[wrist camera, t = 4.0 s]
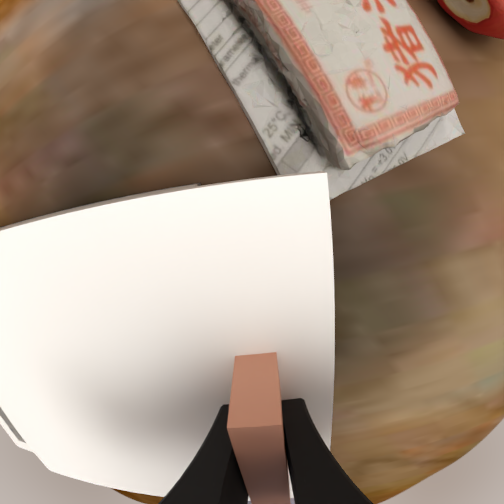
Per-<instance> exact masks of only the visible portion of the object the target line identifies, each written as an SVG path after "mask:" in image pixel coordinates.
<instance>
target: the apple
mask: <svg viewBox="0 0 504 504" xmlns="http://www.w3.org/2000/svg"><path fill="white" fill-rule="evenodd" d="M437 1H438V3H439V4H440V6H441V7H442V8H443V9H444V10H445V11H446V12H447V13H448V14H449V15H450V16H451V17H453V18H454V19H455V20H456V21H457V22H458V23H460V24H461V25H462V26H463V27H465V28H466V29H468V30H469V31H472V32H474V33H478V34H483V35H487V36H491V37H495V38H499V39H504V0H437Z"/></svg>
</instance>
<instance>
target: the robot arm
mask: <svg viewBox="0 0 504 504" xmlns="http://www.w3.org/2000/svg"><path fill="white" fill-rule="evenodd" d="M281 403H282V418H283V428H284V437H285V445H286V454H287V463H288V469H289V474H290V480H291V485H292V491H293V496H294V498H290V503H291V504H373V503H372V502H371V501H370V500H369V499H368V498H367V497H366V496H365V495H364V494H363V493H362V492H361V491H360V489H359V488H358V487H357V486H356V485H355V484H354V483H353V481H352V480H351V479H350V478H349V477H348V475H347V474H346V473H345V472H344V470H343V469H342V468H341V466H340V465H339V464H338V462H337V461H336V459H335V458H334V456H333V455H332V454H331V452H330V450H329V449H328V447H327V446H326V444H325V442H324V441H323V439H322V438H321V436H320V434H319V432H318V430H317V429H316V427H315V425H314V423H313V421H312V419H311V416H310V414H309V412H308V409H307V406H306V403H305V400H304V399H302V398H296V399H287V400H281ZM228 413H229V404H223V405H222V406H221V407H220V409H219V412H218V414H217V416H216V419H215V421H214V423H213V425H212V427H211V429H210V431H209V433H208V435H207V436H206V438H205V440H204V442H203V443H202V445H201V447H200V449H199V450H198V452H197V454H196V455H195V457H194V458H193V460H192V461H191V463H190V464H189V466H188V467H187V469H186V470H185V472H184V473H183V474H182V476H181V477H180V479H179V480H178V481H177V482H176V484H175V485H174V486H173V487H172V489H171V490H170V491H169V492H168V493H167V495H166V496H165V497H164V498H163V499H162V500H161V501H160V502H159V503H158V504H252V503H251V501H248V496H249V494H248V492H247V489H246V486H245V483H244V480H243V477H242V474H241V471H240V468H239V465H238V462H237V459H236V456H235V453H234V450H233V447H232V443H231V440H230V437H229V434H228V430H227V422H228Z"/></svg>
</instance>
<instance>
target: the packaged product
mask: <svg viewBox="0 0 504 504" xmlns="http://www.w3.org/2000/svg"><path fill="white" fill-rule="evenodd" d="M178 2H179V3H180V5H181V7H182V8H183V9H184V11H185V12H186V13H187V14H188V16H189V17H190V18H191V20H192V21H193V23H194V25H195V26H196V28H197V30H198V32H199V33H200V35H201V37H202V38H203V40H204V42H205V44H206V46H207V47H208V49H209V51H210V53H211V55H212V57H213V58H214V60H215V62H216V64H217V66H218V68H219V69H220V71H221V73H222V74H223V76H224V78H225V79H226V81H227V83H228V84H229V86H230V88H231V89H232V91H233V93H234V94H235V96H236V98H237V100H238V102H239V104H240V105H241V107H242V109H243V111H244V113H245V115H246V116H247V118H248V120H249V122H250V124H251V126H252V127H253V129H254V131H255V133H256V135H257V137H258V139H259V141H260V143H261V144H262V146H263V148H264V150H265V152H266V154H267V156H268V158H269V160H270V162H271V164H272V166H273V168H274V170H275V172H276V174H277V176H278V175H287V174H297V173H307V172H318V171H323V172H327V178H328V189H329V200H331V199H333V198H335V197H336V196H338V195H340V194H342V193H344V192H346V191H348V190H351V189H353V188H355V187H357V186H359V185H361V184H363V183H365V182H367V181H369V180H371V179H373V178H375V177H377V176H379V175H381V174H383V173H385V172H387V171H389V170H391V169H393V168H395V167H397V166H399V165H401V164H403V163H405V162H407V161H409V160H411V159H413V158H415V157H417V156H419V155H421V154H423V153H426V152H428V151H430V150H432V149H434V148H436V147H438V146H440V145H442V144H444V143H446V142H448V141H450V140H451V139H454V138H456V137H458V136H460V135H462V134H465V133H464V130H463V128H462V126H461V124H460V122H459V119H458V117H457V114H456V112H455V110H454V107H455V106H456V105H458V104H459V101H458V95H457V93H456V91H455V89H454V87H453V84H452V82H451V79H450V77H449V75H448V72H447V70H446V68H445V66H444V63H443V61H442V59H441V57H440V55H439V54H438V52H437V50H436V48H435V46H434V44H433V42H432V41H431V39H430V37H429V35H428V34H427V32H426V30H425V29H424V27H423V25H422V23H421V21H420V20H419V18H418V16H417V15H416V13H415V12H414V10H413V9H412V7H411V6H410V4H409V3H408V1H407V0H178Z"/></svg>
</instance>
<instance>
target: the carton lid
mask: <svg viewBox="0 0 504 504" xmlns="http://www.w3.org/2000/svg"><path fill="white" fill-rule="evenodd" d="M334 359H335V303H334V268H333V246H332V229H331V214H330V201H329V189H328V178H327V172H323V171H318V172H307V173H297V174H287V175H278V176H269V177H261V178H252V179H245V180H237V181H230V182H222V183H216V184H209V185H202V186H196V187H189V188H183V189H177V190H171V191H166V192H160V193H154V194H149V195H144V196H138V197H133V198H128V199H123V200H118V201H113V202H108V203H104V204H99V205H95V206H90V207H86V208H81V209H77V210H73V211H68V212H64V213H60V214H56V215H52V216H48V217H44V218H40V219H36V220H33V221H29V222H25V223H22V224H18V225H14V226H11V227H7V228H4V229H0V407H1V408H2V410H3V411H4V413H5V414H6V416H7V417H8V419H9V420H10V422H11V423H12V424H13V426H14V427H15V429H16V430H17V431H18V433H19V434H20V435H21V437H22V438H23V439H24V441H25V442H26V443H27V444H28V446H29V447H30V448H31V449H32V451H33V452H34V453H35V454H36V455H37V457H38V458H39V459H40V460H41V461H42V462H43V464H44V465H45V466H46V467H47V468H48V469H49V470H50V471H53V472H56V473H59V474H62V475H65V476H68V477H71V478H75V479H79V480H82V481H86V482H90V483H93V484H97V485H101V486H106V487H110V488H114V489H119V490H124V491H130V492H135V493H141V494H147V495H154V496H162V497H165V496H166V495H167V493H168V492H169V491H170V490H171V489H172V487H173V486H174V485H175V484H176V482H177V481H178V480H179V479H180V477H181V476H182V474H183V473H184V472H185V470H186V469H187V467H188V466H189V464H190V463H191V461H192V460H193V458H194V457H195V455H196V454H197V452H198V450H199V449H200V447H201V445H202V443H203V442H204V440H205V438H206V436H207V435H208V433H209V431H210V429H211V427H212V425H213V423H214V421H215V419H216V416H217V414H218V412H219V409H220V407H221V406H222V405H223V404H229V413H228V422H227V430H228V434H229V437H230V440H231V443H232V447H233V450H234V453H235V456H236V459H237V462H238V465H239V468H240V471H241V474H242V477H243V480H244V483H245V486H246V489H247V492H248V494H249V496H248V501H251V503H252V504H291V503H290V498H294V496H293V491H292V485H291V480H290V474H289V469H288V463H287V454H286V445H285V437H284V428H283V418H282V403H281V400H287V399H296V398H302V399H304V400H305V403H306V406H307V409H308V412H309V414H310V416H311V419H312V421H313V423H314V425H315V427H316V429H317V430H318V432H319V434H320V436H321V438H322V439H323V441H324V442H325V444H326V446H327V447H328V449H329V450H330V444H331V430H332V414H333V393H334Z"/></svg>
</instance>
